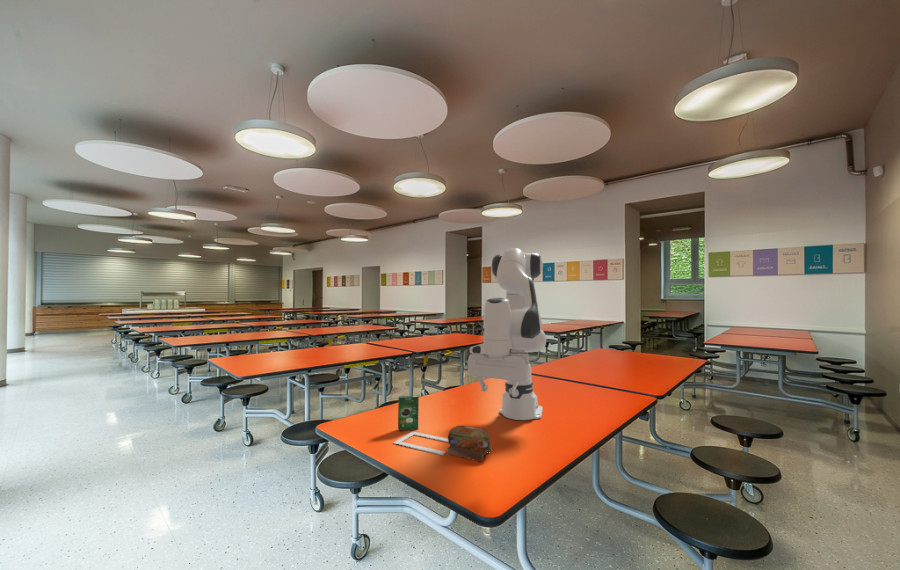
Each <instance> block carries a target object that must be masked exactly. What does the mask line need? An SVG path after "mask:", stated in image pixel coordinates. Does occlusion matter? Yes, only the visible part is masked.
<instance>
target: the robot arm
mask: <svg viewBox="0 0 900 570" xmlns="http://www.w3.org/2000/svg"><path fill="white" fill-rule="evenodd" d="M490 268H491V272H492V275H493V276H494V277H496V281H497V283H498V285H499V286H500V288H501V289H503V290H505V292H506V294H505V296H506V297H494V298H493V297H492V298H488V299H487V300H486V301H485V304H484V311H483V329H484V335H483V343H479V344H476V345H473V346H470V347H469V353H470V354H469V356H468V359H467V374H468V375H469V376H471V377H477V381H478V383H479V385H480V388H481V392H486V393H487V391H488V387H489V386H488V384H485V381H484V380H485V378H488V379H496V380H505V382H504V383H505V384H504V391H505V392H504V393H503V394H502V398H501V400H502V402H501V408H500V409H499V410H498V413H499V414H502V415H503V417H505V418H507V419H510V420H516V421H529V420H535V419H536V420H538V419H542V416H543V409H544V408H543V406H542V405H539V404H538V396H537V394H535V392H534V381H532V367H531V364H530V354H529V353H535V352H536V353H537V352H541V351H543V350H544V348H545V347H546V344H547V337H546V333H545V332H544V330H543V321H542V320H543V319H542V317H541V314H540V312H539V308H538V307H539V305H538V299H537V293H536V289H535V283H534V281H535V279H536V278H538V277H539V276H540V275H541V274H542V271H543V268H544V262H543V259H542V257H541V255H540V254H539V253H535V252H530V253H529V252H523V251H522V250H521V249H519V248H517V247H516V248H515V247H510V248H508V249H506V250H505V251H504V252H503V254H502V253H500V254H496V255H494V257H492V260H491V266H490Z"/></svg>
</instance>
